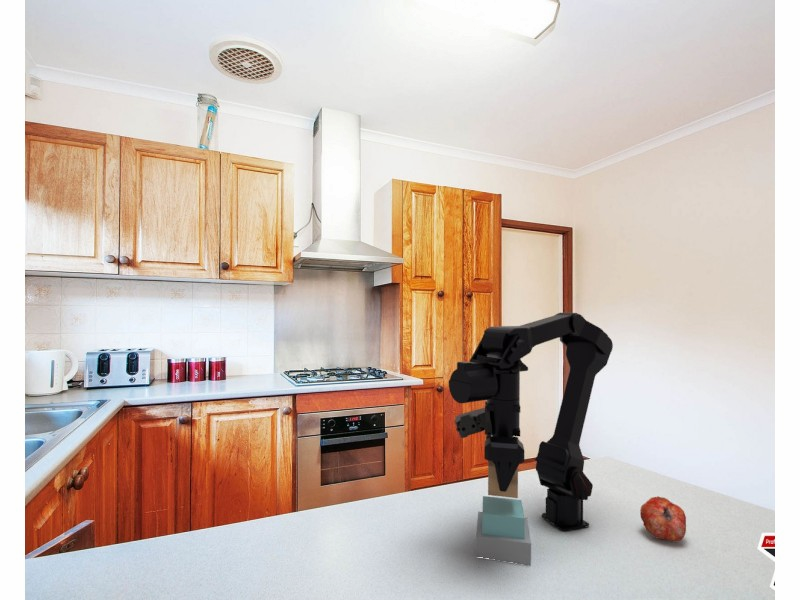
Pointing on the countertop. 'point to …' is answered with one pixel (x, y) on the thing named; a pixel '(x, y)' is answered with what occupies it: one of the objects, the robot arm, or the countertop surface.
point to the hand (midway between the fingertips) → (502, 484)
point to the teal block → (503, 517)
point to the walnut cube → (494, 486)
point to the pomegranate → (663, 519)
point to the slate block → (503, 546)
